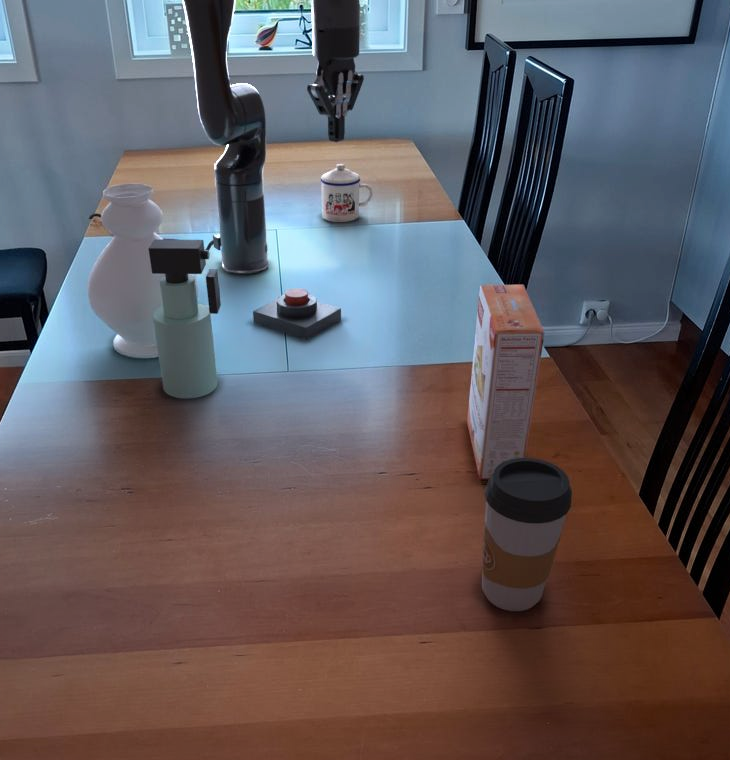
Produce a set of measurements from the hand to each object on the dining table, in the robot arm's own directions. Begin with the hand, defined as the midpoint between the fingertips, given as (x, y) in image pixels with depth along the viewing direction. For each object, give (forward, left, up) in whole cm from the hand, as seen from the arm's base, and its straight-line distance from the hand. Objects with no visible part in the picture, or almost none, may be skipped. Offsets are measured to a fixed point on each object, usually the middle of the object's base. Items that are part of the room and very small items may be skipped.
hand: (336, 140), depth 138 cm
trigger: (+21, -35, -14) cm, 43 cm away
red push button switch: (+7, -13, -27) cm, 31 cm away
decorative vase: (0, -38, -27) cm, 47 cm away
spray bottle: (+18, -39, -27) cm, 51 cm away
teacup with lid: (-37, +27, -27) cm, 53 cm away
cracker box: (+58, -13, -27) cm, 65 cm away
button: (+7, -13, -23) cm, 28 cm away
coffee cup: (+80, -30, -27) cm, 90 cm away
